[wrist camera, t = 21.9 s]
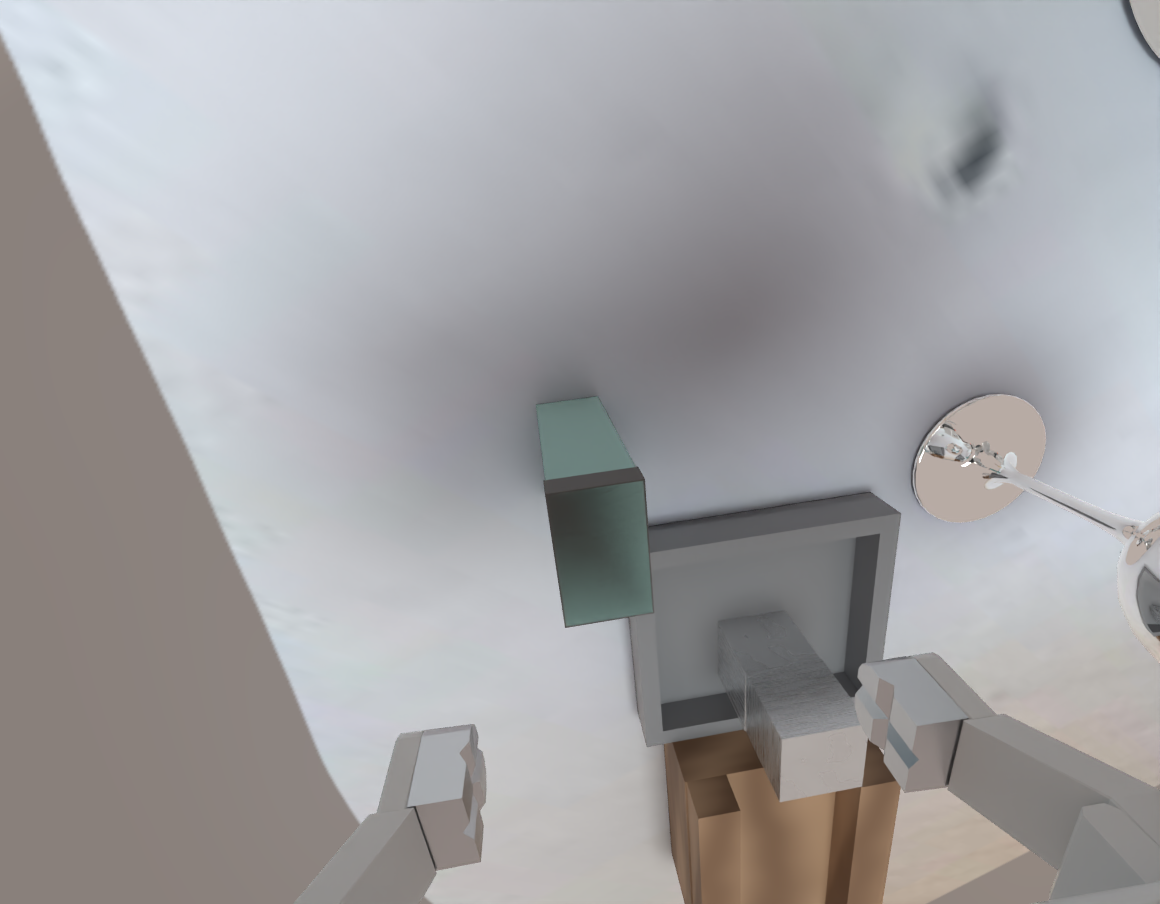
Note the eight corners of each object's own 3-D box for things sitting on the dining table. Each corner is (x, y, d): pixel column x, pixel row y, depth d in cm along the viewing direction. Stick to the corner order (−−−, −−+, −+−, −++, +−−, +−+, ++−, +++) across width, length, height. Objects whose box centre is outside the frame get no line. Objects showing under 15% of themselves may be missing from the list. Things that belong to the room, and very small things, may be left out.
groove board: (830, 678, 34) (903, 779, 28) (818, 824, 39) (877, 938, 33) (661, 708, 34) (696, 819, 27) (671, 853, 39) (703, 975, 32)
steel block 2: (821, 658, 27) (869, 723, 24) (817, 716, 29) (862, 786, 25) (745, 672, 27) (781, 739, 23) (745, 729, 29) (779, 802, 25)
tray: (870, 492, 30) (901, 513, 27) (852, 674, 34) (876, 705, 32) (620, 531, 29) (629, 556, 26) (637, 712, 33) (646, 747, 31)
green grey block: (534, 403, 26) (544, 493, 16) (598, 395, 26) (644, 478, 17) (548, 498, 28) (565, 627, 18) (608, 490, 28) (654, 613, 18)
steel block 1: (782, 664, 33) (784, 610, 31) (816, 718, 29) (821, 660, 27) (718, 675, 32) (717, 621, 31) (744, 730, 29) (745, 672, 27)
